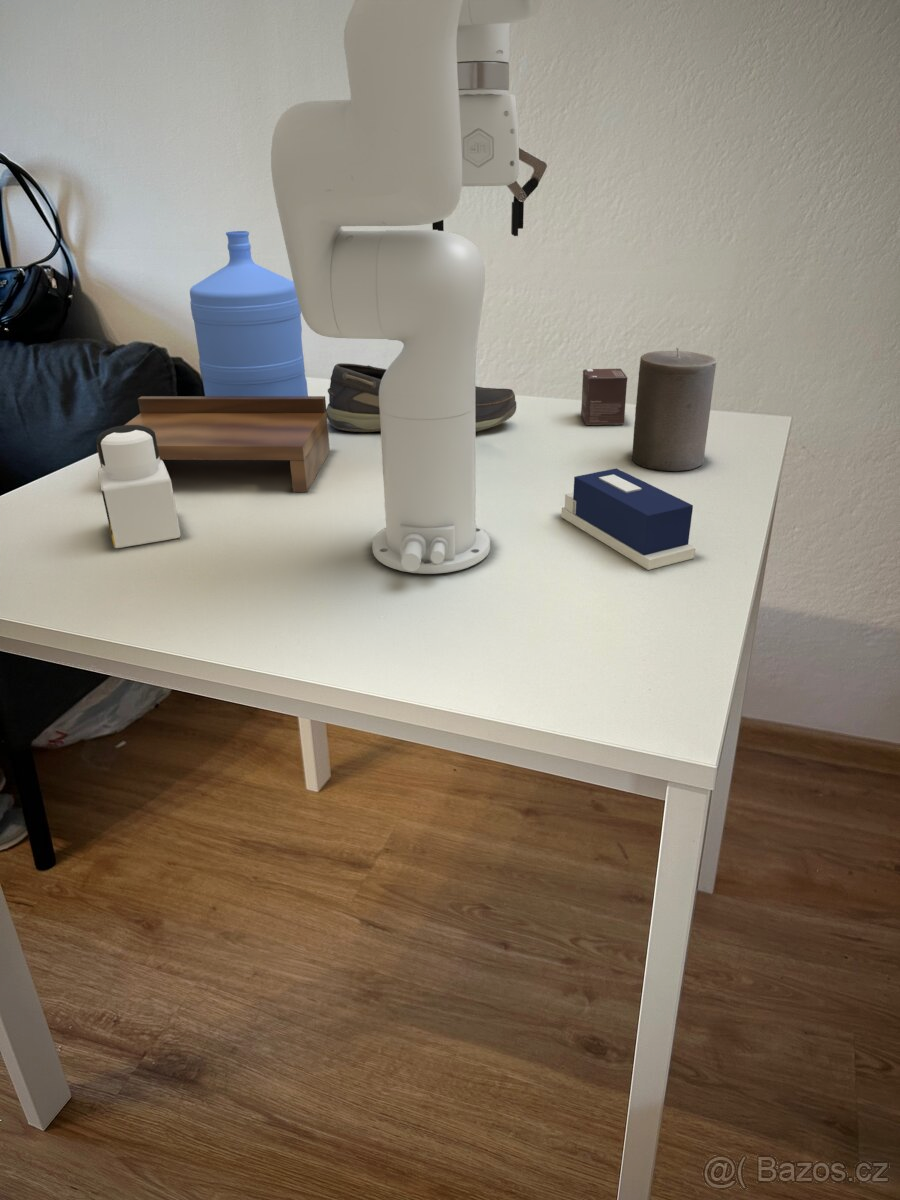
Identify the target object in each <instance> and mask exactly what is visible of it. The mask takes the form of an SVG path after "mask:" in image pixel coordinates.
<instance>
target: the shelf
mask: <svg viewBox="0 0 900 1200" xmlns="http://www.w3.org/2000/svg"><path fill="white" fill-rule="evenodd" d="M137 403H138V409H139V414H137V415H136V416H135V417H133V418H132V419H130V420H129V421H127V422H126V423H125V424H124V425H141V426H144V427H148V428H150V429H152V430H153V431H154V432H155V436H156V441H157V447H158V452H159V458H160V460H162V461H163V460H165V461H166V460H168V461H185V460H186V461H204V460H205V461H289V464H290V475H291V484H292V485H291V486H292V492H293V493H308V491H309V490H310V487H311V486H312V484H313V482H314V481H315V479H316V477H317V475H318V474H319V472H320V469H321V468H322V466H323V465H324V463H325V461H326V459H327V458H328V456H329V454H330V452H331V450H330V437H329V427H328V419H327V413H326V409H327V401H326V396H324V395H308V396H205V395H204V396H202V395H201V396H200V395H199V396H197V395H194V396H193V395H191V396H190V395H189V396H188V395H187V396H184V395H183V396H181V395H179V396H177V395H174V396H172V395H171V396H170V395H169V396H168V395H166V396H165V395H164V396H163V395H160V396H157V395H155V396H153V395H150V396H146V395H145V396H144V395H143V396H140V397H138V398H137ZM96 451H97V455H98V459H99V463H100V468H102V464H101V459H100V455H99V450H98V445H97V444H96Z"/></svg>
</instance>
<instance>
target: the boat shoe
mask: <svg viewBox="0 0 900 1200" xmlns="http://www.w3.org/2000/svg"><path fill="white" fill-rule="evenodd" d="M387 369H388V368H383V367H382V368H381V367H376V366H371V365H370V364H369V365H363V364H357V363H345V362H343V363H342V362H341V363H340V362H339V363H337V364H335V365H334V366H333V369H332V372H331V376H330V378H329V379H330V383H329V388H327V393H328V401H329V403H328V404H327V405H326V413H327V422H328V423H329V424H330V425H331V426H332V427H333V428H334V429H337V430H339V431H345V432H352V433H371V432H372V433H373V432H381V425H380V408H379V388H380V383H381V380H382V377H383V375H384V373H385V372H386V370H387ZM516 411H517V401H516V394H515V392H514V390H513V389H512V388H495V387H483V386H482V387H481V386H476V385H475V433H476V432H480V431H484V430H488V429H491V428H493V427H496V426H499V425H501V424H503V423H505V422H506V421H508V420H510V419H511V418H512V417H513V416H514V415H515V414H516Z"/></svg>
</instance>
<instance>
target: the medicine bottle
mask: <svg viewBox="0 0 900 1200" xmlns="http://www.w3.org/2000/svg"><path fill="white" fill-rule="evenodd" d="M95 440H96V446H97V445H98V450H99V455H100V459H101V464H102V468H101V467H99V468H98V469H97V475H98V480H99V485H100V490H101V496H102V499H103V504H104V508H105V509H104V510H105V513H106V517H107V522H108V526H109V530H110V536H111V540H112V545H113V547H114V548H115V549H122V548H127V547H132V546H133V547H135V546H140V545H145V544H150V543H157V542H163V541H169V540H174V539H175V540H176V539H179V538H180V537H181V528H180V523H179V516H178V511H177V508H176V507H177V506H176V505H177V504H176V502H175V501H176V500H175V495H174V489H173V484H172V483H173V482H172V479H171V477H170V474H169V471H168V470H167V467H166V464H165V463H164V461H163V460H160V458H159V452H158V447H157V441H156V436H155V432H154V431H153V430H152V429H150V428H148V427H144V426H141V425H125V424H123V425H116V426H113V427H110V428H108V429H105V430H104V431H102V432H100V433H99V434H98V435H97V437H96V439H95ZM98 450H97V451H98ZM99 455H98V456H99ZM100 459H99V460H100ZM101 464H100V465H101Z"/></svg>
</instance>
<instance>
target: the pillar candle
mask: <svg viewBox="0 0 900 1200" xmlns="http://www.w3.org/2000/svg"><path fill="white" fill-rule="evenodd" d="M639 359H640V360H639V368H638V380H637V389H636V390H637V391H636V402H635V412H634V413H635V414H634V426H633V439H632V451H631V452H632V455H630V458H631V461H633V462H634V463H635V464H637V466H640V467H642V468H645V469H651V470H657V471H665V472H667V471H669V472H680V471H682V472H683V471H689V470H694V469H697V468H700V467H701V466H702V465H703V463H704V459H705V453H706V445H707V437H708V429H709V423H710V422H709V421H710V415H711V407H712V399H713V398H712V397H713V391H714V383H715V376H716V375H715V374H716V366H717V363H718V360H717V359H716V358H715V357H714V356H711V355H708V354H704V353H701V352H694V351H689V350H679V347H676V350H657V351H656V350H655V351H650V352H646V353H643V354H642V355H641V356H640V358H639Z"/></svg>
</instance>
